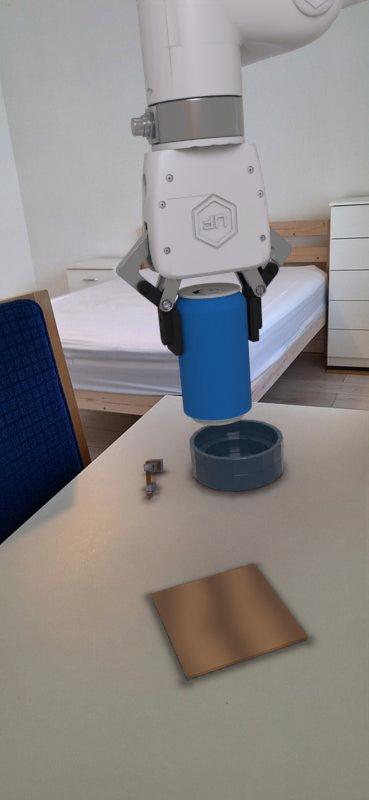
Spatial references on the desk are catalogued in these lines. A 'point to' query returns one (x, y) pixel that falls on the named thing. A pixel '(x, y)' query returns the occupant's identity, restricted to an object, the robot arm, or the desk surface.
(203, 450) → the bowl
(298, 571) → the desk surface
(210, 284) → the beverage can
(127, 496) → the desk surface
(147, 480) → the wooden post with brackets
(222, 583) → the coaster
